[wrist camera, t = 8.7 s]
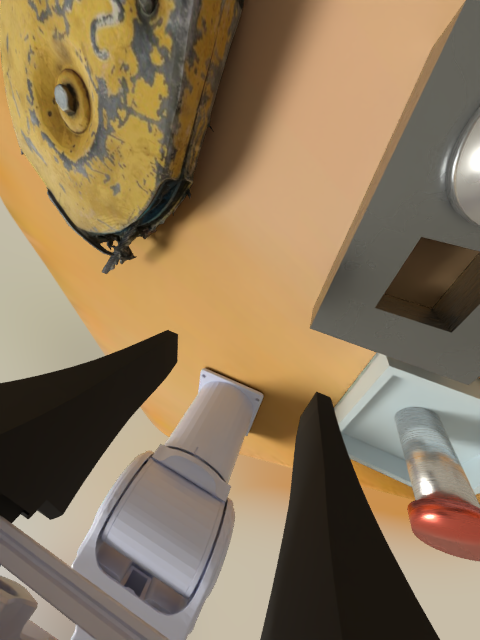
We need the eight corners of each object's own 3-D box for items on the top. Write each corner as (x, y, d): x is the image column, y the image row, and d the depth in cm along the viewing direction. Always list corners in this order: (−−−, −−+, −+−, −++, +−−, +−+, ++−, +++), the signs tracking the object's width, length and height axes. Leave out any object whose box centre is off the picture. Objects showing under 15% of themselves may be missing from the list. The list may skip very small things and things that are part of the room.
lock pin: (427, 442, 19) (473, 567, 13) (376, 422, 20) (396, 530, 14) (463, 416, 17) (542, 554, 11) (404, 394, 18) (443, 510, 11)
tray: (439, 475, 22) (450, 504, 20) (321, 423, 24) (320, 445, 22) (565, 409, 15) (601, 444, 13) (382, 344, 17) (389, 365, 15)
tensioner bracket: (447, 355, 16) (476, 398, 12) (313, 309, 17) (308, 336, 14) (741, 76, 8) (1038, -6, 4) (432, 47, 9) (483, -25, 6)
